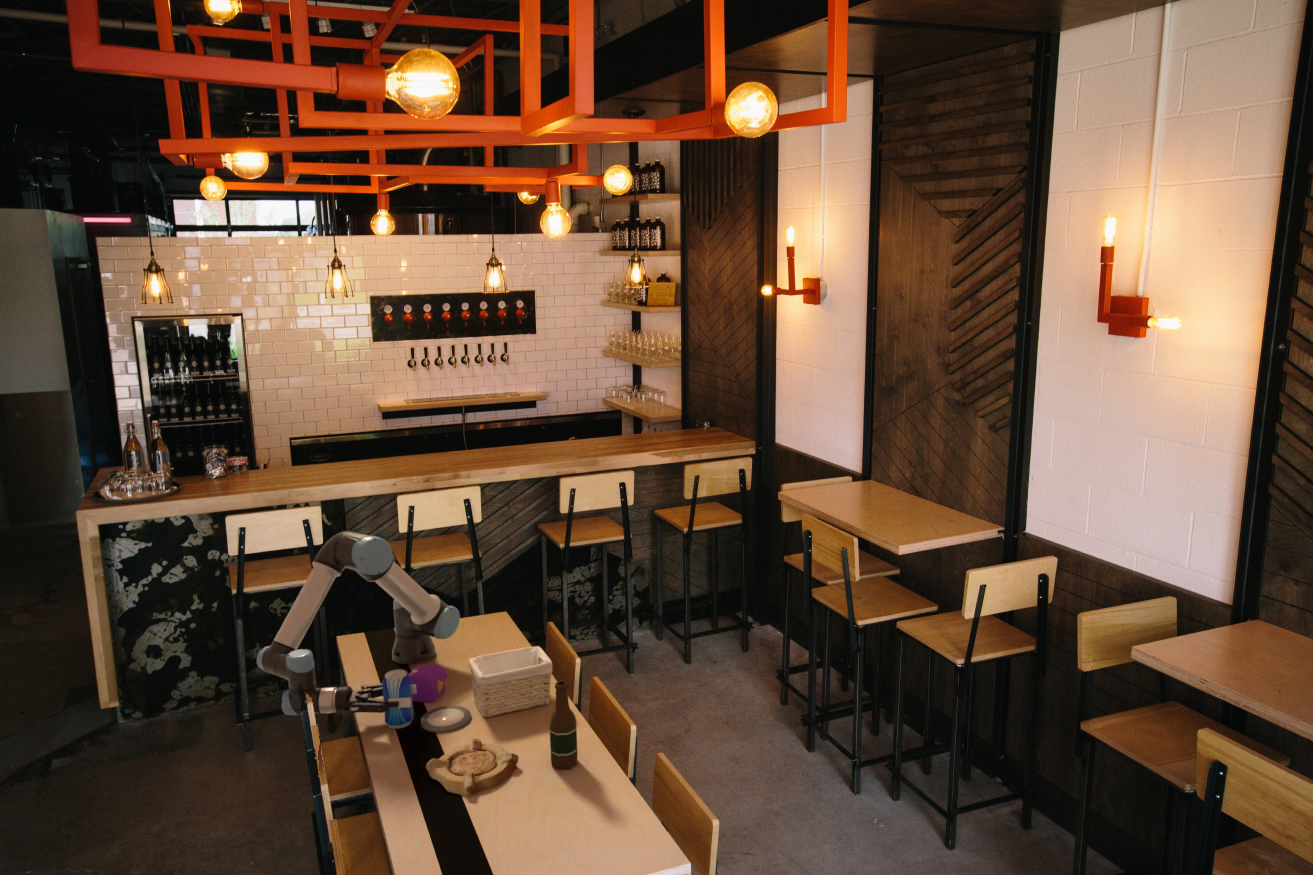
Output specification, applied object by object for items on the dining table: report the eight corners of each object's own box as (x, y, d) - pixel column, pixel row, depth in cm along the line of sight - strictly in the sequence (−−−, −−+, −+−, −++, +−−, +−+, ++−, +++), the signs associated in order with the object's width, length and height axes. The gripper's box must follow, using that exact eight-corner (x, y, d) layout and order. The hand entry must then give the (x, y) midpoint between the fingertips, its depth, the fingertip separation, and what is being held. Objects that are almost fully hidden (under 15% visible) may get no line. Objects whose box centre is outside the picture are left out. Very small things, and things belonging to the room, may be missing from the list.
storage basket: (540, 684, 291) (538, 643, 288) (556, 705, 276) (554, 661, 274) (469, 700, 281) (466, 657, 279) (481, 722, 267) (478, 677, 264)
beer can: (388, 716, 271) (384, 668, 268) (416, 715, 272) (412, 667, 269) (382, 730, 263) (378, 680, 260) (411, 728, 264) (407, 679, 261)
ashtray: (441, 807, 224) (439, 789, 223) (420, 763, 245) (419, 746, 244) (528, 781, 235) (528, 764, 234) (501, 741, 256) (501, 725, 255)
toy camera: (452, 685, 292) (450, 657, 290) (438, 705, 278) (436, 675, 276) (421, 684, 293) (419, 656, 291) (405, 704, 279) (403, 675, 278)
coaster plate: (425, 709, 275) (425, 706, 275) (473, 706, 276) (473, 703, 276) (416, 733, 260) (416, 730, 260) (467, 730, 262) (467, 727, 261)
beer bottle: (583, 758, 245) (579, 678, 241) (571, 772, 238) (568, 691, 234) (558, 753, 248) (554, 674, 243) (545, 768, 240) (542, 687, 236)
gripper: (347, 695, 275) (420, 691, 277) (328, 728, 255) (407, 723, 256) (345, 673, 274) (418, 669, 276) (326, 704, 253) (405, 699, 255)
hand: (413, 695), depth 266 cm, fingers closed on beer can, 8 cm apart
